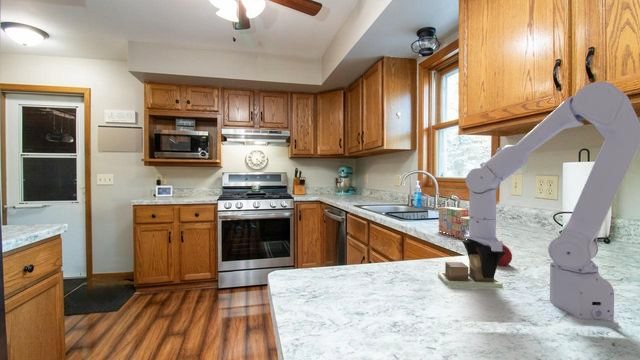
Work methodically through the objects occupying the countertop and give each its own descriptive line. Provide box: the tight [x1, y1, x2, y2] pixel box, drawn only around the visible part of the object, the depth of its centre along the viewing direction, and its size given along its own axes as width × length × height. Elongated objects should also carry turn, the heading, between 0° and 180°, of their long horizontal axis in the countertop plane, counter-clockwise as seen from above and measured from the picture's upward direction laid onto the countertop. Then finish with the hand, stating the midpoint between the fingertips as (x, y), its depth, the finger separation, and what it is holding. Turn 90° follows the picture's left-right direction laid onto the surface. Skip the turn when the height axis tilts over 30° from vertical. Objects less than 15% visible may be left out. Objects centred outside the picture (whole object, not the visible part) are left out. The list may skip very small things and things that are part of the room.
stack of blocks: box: [438, 206, 469, 240], centre depth 129 cm, size 21×6×12 cm, turn 14°
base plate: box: [435, 271, 509, 291], centre depth 71 cm, size 10×13×2 cm
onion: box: [498, 240, 513, 267], centre depth 85 cm, size 6×6×8 cm
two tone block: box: [468, 255, 494, 282], centre depth 71 cm, size 4×4×6 cm
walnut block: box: [444, 261, 469, 281], centre depth 71 cm, size 4×4×4 cm
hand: (481, 273), depth 71 cm, fingers open, 6 cm apart
